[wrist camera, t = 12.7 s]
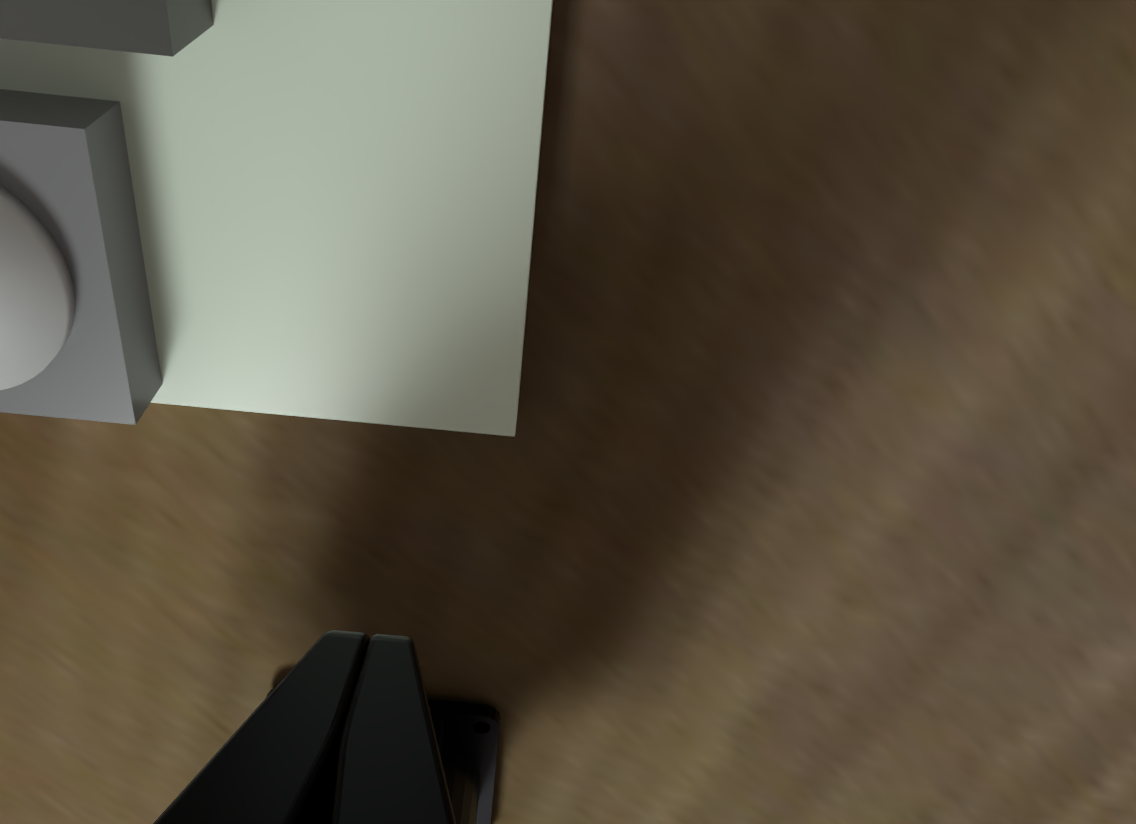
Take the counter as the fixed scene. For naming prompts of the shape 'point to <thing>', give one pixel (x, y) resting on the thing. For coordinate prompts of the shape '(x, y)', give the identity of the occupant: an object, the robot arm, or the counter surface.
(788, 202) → the counter surface
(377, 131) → the board
